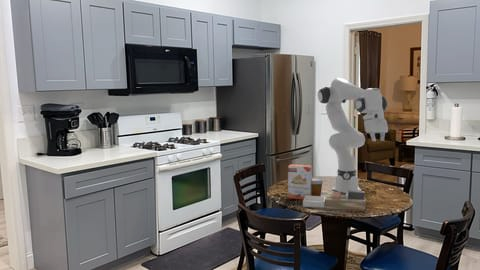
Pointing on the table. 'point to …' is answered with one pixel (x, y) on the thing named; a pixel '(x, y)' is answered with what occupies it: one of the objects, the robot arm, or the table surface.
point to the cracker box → (299, 181)
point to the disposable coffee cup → (316, 186)
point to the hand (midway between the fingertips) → (378, 141)
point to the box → (314, 201)
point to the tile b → (336, 196)
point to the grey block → (355, 195)
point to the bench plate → (344, 203)
